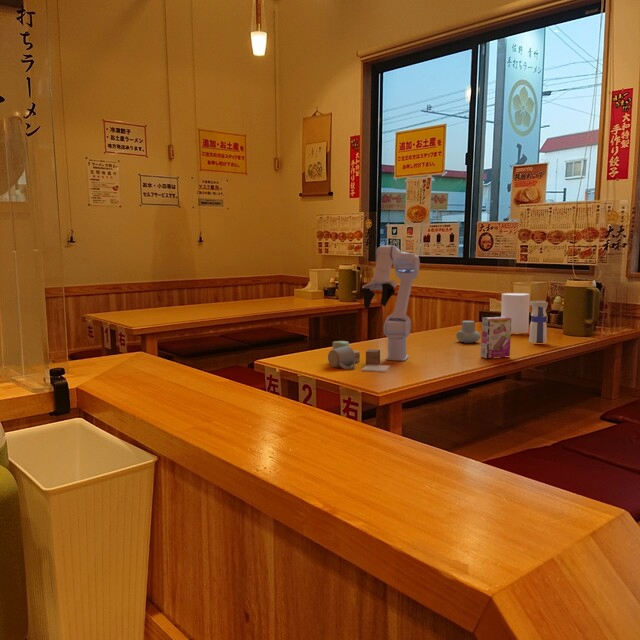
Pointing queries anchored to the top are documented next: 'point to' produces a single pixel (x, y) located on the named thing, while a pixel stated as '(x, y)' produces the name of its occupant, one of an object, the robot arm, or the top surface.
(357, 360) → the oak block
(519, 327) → the canister
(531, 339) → the water bottle
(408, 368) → the top surface
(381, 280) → the robot arm
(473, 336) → the air freshener
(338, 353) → the ceramic mug
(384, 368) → the trivet
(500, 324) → the candy bar box
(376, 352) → the walnut block
